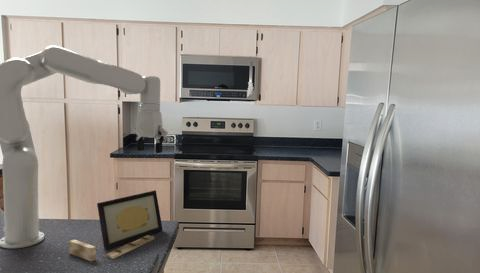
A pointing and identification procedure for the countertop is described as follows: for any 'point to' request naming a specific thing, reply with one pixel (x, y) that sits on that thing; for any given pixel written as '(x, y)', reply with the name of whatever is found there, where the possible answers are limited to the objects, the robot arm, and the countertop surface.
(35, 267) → the countertop surface
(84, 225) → the countertop surface
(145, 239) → the strip
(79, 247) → the block
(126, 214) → the picture frame
